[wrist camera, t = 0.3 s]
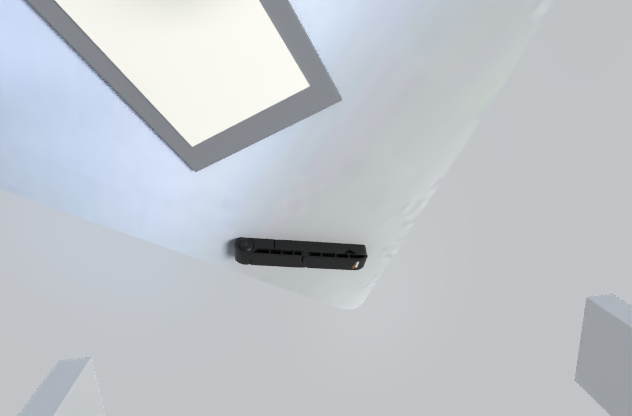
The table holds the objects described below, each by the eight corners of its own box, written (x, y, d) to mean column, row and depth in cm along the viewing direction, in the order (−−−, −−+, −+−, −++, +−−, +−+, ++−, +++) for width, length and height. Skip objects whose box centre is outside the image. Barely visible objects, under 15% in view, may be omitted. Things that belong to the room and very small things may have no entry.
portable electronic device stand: (235, 247, 57) (233, 264, 55) (235, 234, 55) (234, 252, 53) (361, 254, 60) (364, 271, 58) (365, 242, 58) (369, 259, 56)
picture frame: (-12, -45, 31) (-18, -43, 31) (177, -203, 26) (175, -203, 25) (196, 168, 47) (195, 173, 46) (341, 97, 41) (342, 101, 41)
